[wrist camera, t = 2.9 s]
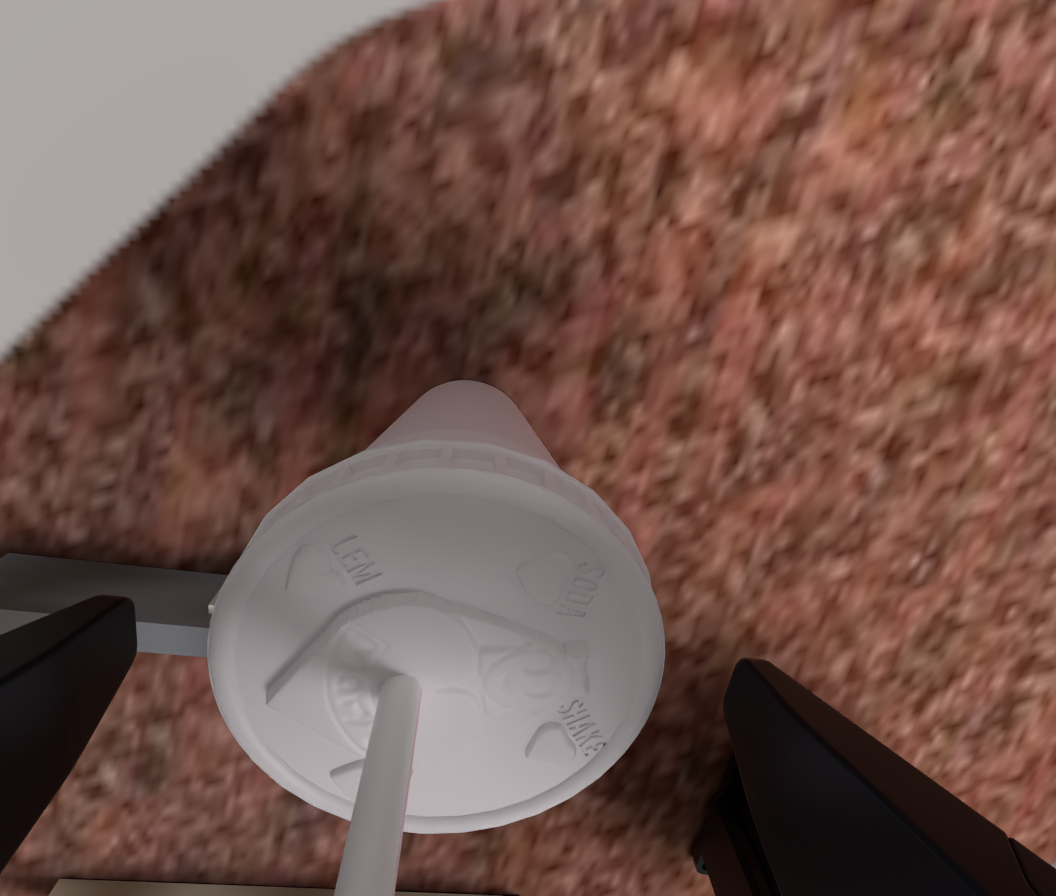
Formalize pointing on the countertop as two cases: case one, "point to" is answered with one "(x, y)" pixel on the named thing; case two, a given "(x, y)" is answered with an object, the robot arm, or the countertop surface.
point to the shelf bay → (162, 627)
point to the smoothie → (437, 633)
